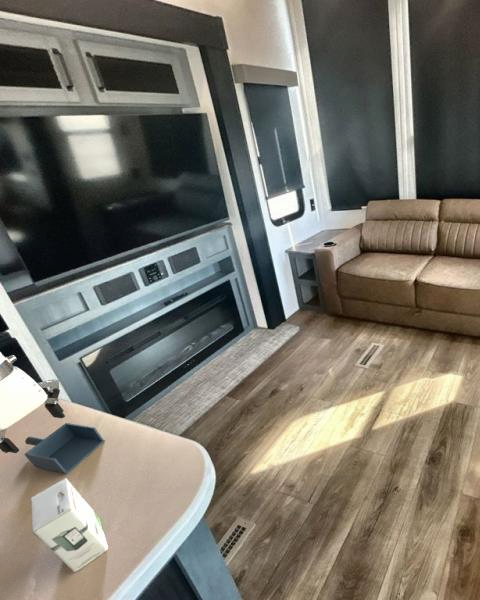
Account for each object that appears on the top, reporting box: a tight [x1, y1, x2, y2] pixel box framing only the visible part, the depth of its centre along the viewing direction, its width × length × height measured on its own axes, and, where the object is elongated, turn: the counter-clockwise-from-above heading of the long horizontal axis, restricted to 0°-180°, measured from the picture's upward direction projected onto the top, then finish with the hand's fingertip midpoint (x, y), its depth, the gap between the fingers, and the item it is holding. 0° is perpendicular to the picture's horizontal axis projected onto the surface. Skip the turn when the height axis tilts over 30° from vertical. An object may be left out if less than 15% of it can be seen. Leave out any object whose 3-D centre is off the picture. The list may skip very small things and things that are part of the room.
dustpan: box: [23, 422, 106, 475], centre depth 82 cm, size 16×9×4 cm, turn 75°
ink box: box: [30, 477, 109, 573], centre depth 60 cm, size 9×5×12 cm, turn 45°
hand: (37, 433), depth 82 cm, fingers open, 9 cm apart
